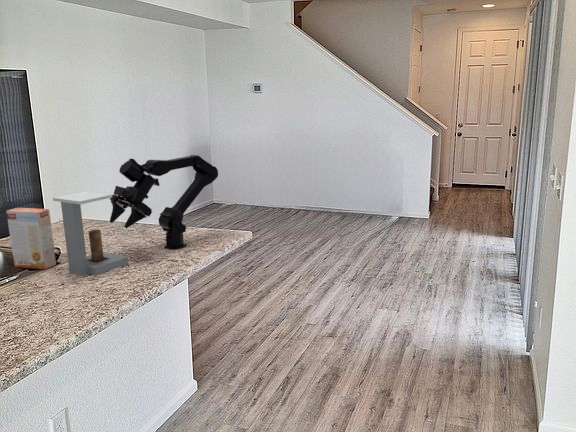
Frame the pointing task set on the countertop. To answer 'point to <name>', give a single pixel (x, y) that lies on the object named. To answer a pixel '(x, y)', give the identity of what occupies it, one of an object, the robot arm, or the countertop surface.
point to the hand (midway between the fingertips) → (117, 224)
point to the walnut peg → (96, 246)
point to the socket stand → (75, 236)
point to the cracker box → (31, 238)
